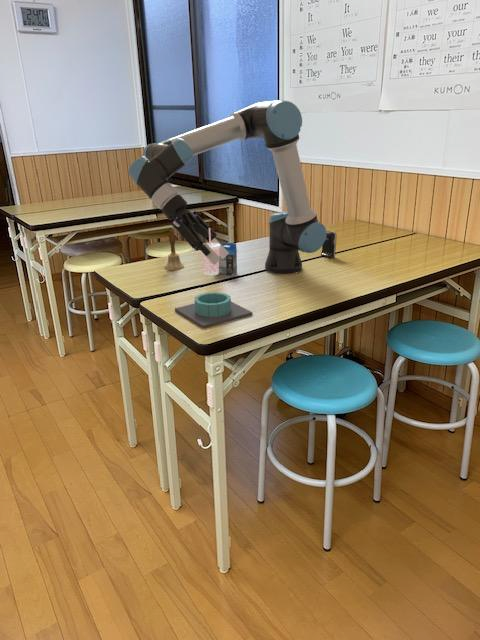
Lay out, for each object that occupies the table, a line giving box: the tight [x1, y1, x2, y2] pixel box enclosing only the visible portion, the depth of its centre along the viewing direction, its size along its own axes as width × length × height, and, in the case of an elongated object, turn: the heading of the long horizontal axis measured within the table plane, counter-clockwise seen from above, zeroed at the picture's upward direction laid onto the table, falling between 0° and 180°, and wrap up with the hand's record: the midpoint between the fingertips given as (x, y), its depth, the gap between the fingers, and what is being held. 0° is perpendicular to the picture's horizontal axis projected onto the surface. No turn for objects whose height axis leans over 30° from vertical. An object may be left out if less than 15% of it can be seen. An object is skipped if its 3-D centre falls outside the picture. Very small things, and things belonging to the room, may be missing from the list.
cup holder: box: [174, 291, 253, 329], centre depth 156 cm, size 18×18×5 cm
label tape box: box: [218, 241, 238, 276], centre depth 195 cm, size 9×4×12 cm, turn 68°
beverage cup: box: [200, 227, 220, 276], centre depth 150 cm, size 6×6×14 cm
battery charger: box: [320, 229, 337, 258], centre depth 215 cm, size 7×4×11 cm, turn 38°
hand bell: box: [164, 229, 185, 271], centre depth 204 cm, size 8×8×16 cm
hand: (221, 259), depth 149 cm, fingers closed on beverage cup, 6 cm apart
